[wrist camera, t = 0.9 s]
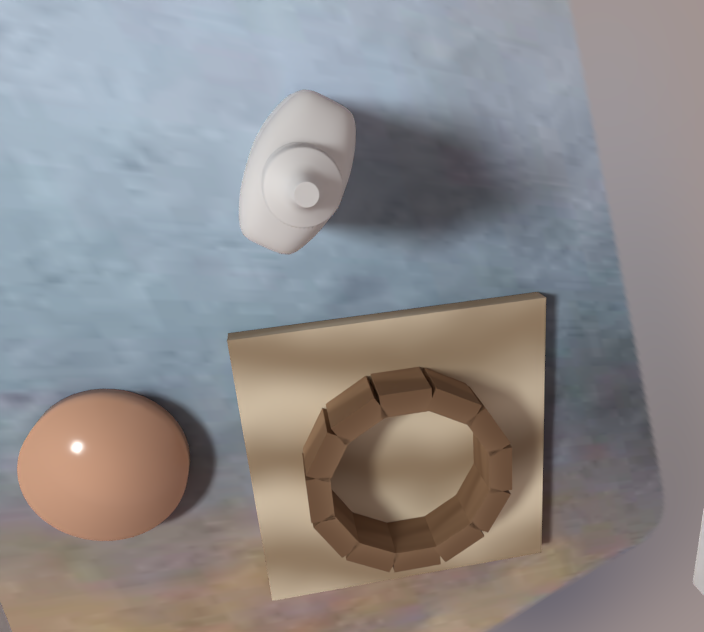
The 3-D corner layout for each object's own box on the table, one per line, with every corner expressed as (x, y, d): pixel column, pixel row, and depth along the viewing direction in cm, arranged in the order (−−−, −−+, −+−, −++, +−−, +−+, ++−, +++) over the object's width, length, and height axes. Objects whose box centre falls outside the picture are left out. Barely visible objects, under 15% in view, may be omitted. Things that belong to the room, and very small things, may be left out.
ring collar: (228, 333, 30) (224, 361, 27) (537, 291, 32) (569, 313, 28) (272, 587, 35) (273, 636, 32) (534, 541, 37) (560, 583, 34)
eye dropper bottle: (208, 155, 27) (170, 190, 16) (309, 78, 27) (344, 59, 15) (268, 233, 29) (272, 314, 17) (365, 161, 28) (433, 198, 17)
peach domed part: (8, 400, 30) (-5, 415, 28) (174, 374, 31) (169, 388, 29) (52, 533, 32) (42, 553, 31) (203, 506, 33) (201, 524, 32)
